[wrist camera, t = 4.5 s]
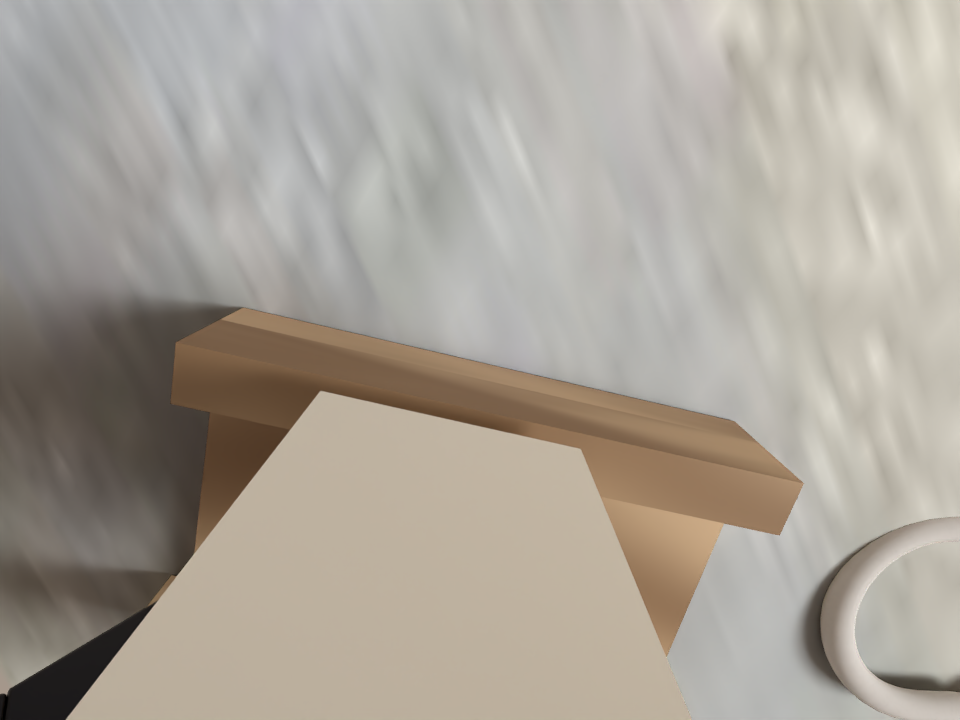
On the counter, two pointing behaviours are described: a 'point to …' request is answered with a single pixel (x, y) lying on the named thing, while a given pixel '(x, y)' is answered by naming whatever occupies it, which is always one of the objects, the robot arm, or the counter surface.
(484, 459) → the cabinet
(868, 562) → the hook
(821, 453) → the counter surface
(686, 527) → the board
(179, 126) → the counter surface
